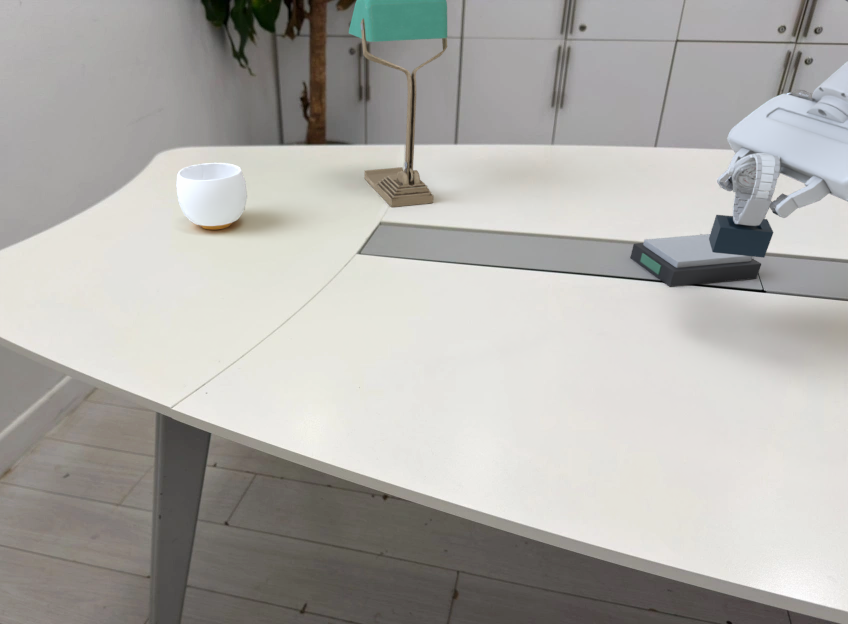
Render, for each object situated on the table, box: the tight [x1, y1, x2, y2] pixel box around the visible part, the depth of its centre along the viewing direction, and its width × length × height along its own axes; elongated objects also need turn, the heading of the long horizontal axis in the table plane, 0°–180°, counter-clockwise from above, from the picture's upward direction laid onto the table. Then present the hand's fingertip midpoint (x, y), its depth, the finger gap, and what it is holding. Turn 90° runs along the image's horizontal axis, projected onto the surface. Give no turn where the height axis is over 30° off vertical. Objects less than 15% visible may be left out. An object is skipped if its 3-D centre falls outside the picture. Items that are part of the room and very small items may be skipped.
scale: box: [630, 233, 762, 287], centre depth 103 cm, size 14×11×3 cm
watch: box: [709, 153, 781, 259], centre depth 78 cm, size 6×8×11 cm
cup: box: [175, 162, 248, 231], centre depth 120 cm, size 12×12×10 cm
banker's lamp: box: [348, 0, 448, 208], centre depth 129 cm, size 16×21×35 cm
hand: (748, 199), depth 78 cm, fingers closed on watch, 8 cm apart
